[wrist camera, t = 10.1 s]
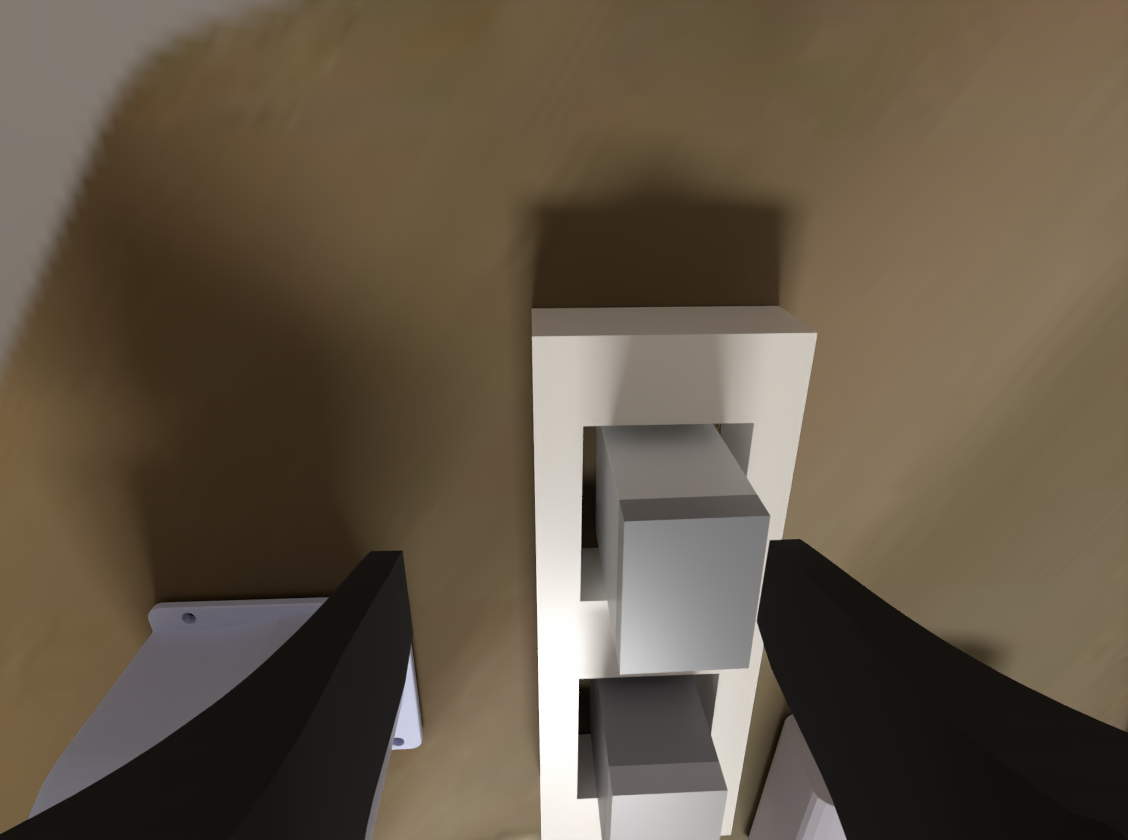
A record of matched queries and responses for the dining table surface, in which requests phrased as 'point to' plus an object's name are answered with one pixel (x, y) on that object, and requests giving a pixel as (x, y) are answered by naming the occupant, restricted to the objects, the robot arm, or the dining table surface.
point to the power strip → (565, 570)
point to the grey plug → (678, 547)
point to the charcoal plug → (654, 760)
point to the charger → (795, 795)
